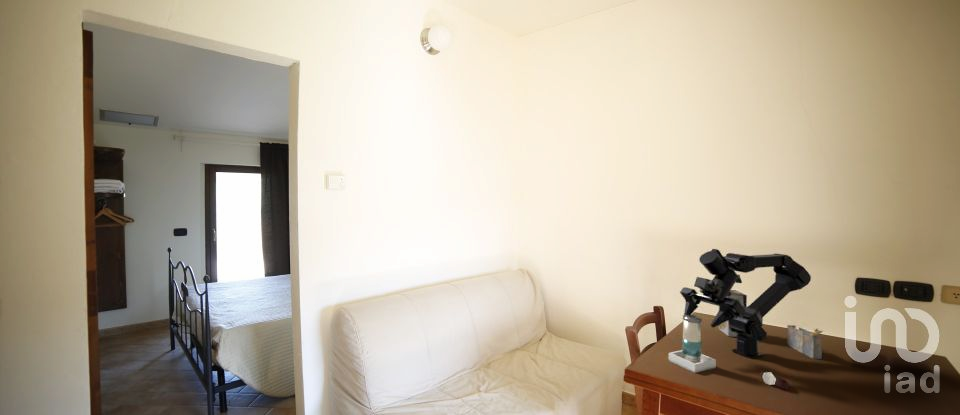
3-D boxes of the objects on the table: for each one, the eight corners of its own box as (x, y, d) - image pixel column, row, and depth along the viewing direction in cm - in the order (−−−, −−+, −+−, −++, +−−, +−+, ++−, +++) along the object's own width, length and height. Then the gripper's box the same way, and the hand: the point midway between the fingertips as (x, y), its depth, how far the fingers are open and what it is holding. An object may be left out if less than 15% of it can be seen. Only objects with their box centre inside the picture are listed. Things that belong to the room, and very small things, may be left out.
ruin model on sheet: (823, 360, 121) (823, 330, 121) (813, 359, 121) (813, 330, 121) (796, 346, 132) (796, 319, 132) (787, 346, 133) (787, 319, 133)
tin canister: (694, 358, 119) (695, 314, 119) (704, 365, 114) (705, 319, 114) (678, 358, 119) (679, 314, 119) (688, 365, 114) (689, 320, 114)
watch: (755, 378, 108) (755, 366, 108) (769, 377, 108) (770, 365, 108) (779, 392, 100) (779, 378, 100) (794, 391, 101) (795, 377, 101)
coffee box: (746, 338, 140) (747, 295, 139) (727, 336, 141) (728, 294, 141) (735, 329, 148) (736, 289, 148) (717, 328, 150) (718, 288, 149)
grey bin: (688, 356, 123) (688, 348, 123) (715, 367, 114) (715, 359, 114) (668, 360, 119) (668, 352, 119) (694, 372, 111) (694, 364, 111)
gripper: (684, 263, 128) (660, 298, 124) (739, 273, 111) (714, 314, 107) (699, 284, 131) (676, 319, 127) (756, 297, 114) (732, 337, 110)
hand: (697, 322), depth 117 cm, fingers open, 9 cm apart
